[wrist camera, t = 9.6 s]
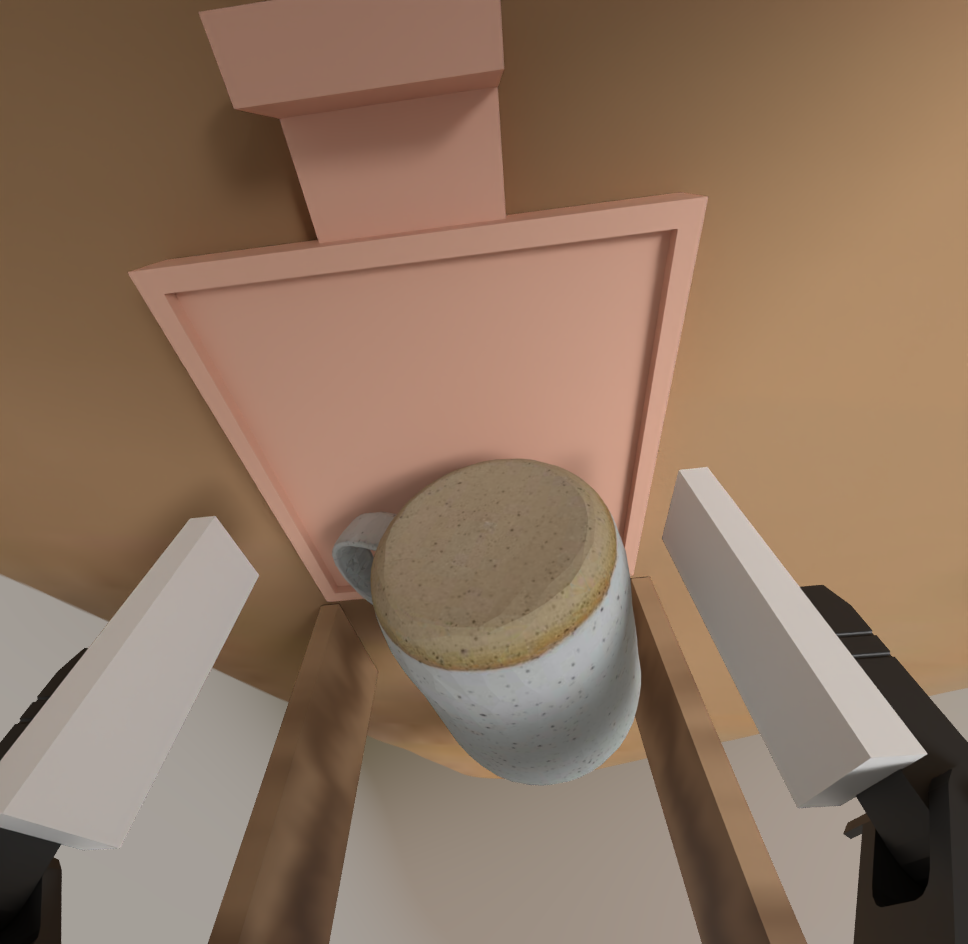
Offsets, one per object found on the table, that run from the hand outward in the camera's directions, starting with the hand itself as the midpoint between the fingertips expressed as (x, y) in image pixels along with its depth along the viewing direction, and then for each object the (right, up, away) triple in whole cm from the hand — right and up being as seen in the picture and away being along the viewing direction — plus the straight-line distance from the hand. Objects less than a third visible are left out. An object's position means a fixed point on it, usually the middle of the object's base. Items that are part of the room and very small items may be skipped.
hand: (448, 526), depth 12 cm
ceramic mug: (+2, +2, +3) cm, 4 cm away
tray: (0, +4, +3) cm, 5 cm away
